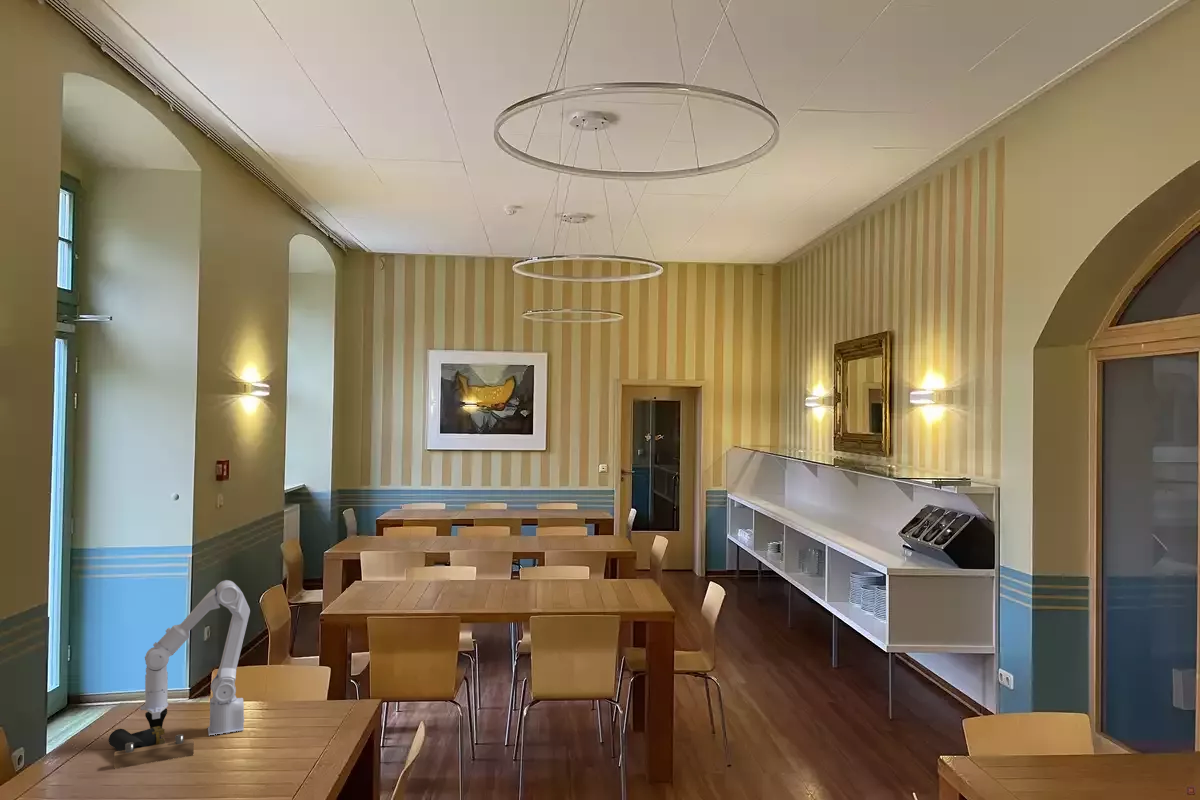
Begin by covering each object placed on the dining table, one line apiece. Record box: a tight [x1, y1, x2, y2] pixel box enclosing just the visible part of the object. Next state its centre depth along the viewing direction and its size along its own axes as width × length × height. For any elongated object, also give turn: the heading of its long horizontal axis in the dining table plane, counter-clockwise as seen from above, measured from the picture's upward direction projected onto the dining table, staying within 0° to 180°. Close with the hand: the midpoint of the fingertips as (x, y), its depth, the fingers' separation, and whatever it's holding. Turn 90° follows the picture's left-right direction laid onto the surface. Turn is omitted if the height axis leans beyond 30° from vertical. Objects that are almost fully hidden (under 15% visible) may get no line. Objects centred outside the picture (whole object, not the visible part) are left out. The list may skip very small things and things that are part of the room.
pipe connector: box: [108, 726, 166, 751], centre depth 231 cm, size 12×5×15 cm
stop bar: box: [113, 733, 195, 769], centre depth 224 cm, size 19×3×6 cm, turn 119°
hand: (156, 736), depth 237 cm, fingers closed, pressing on pipe connector
